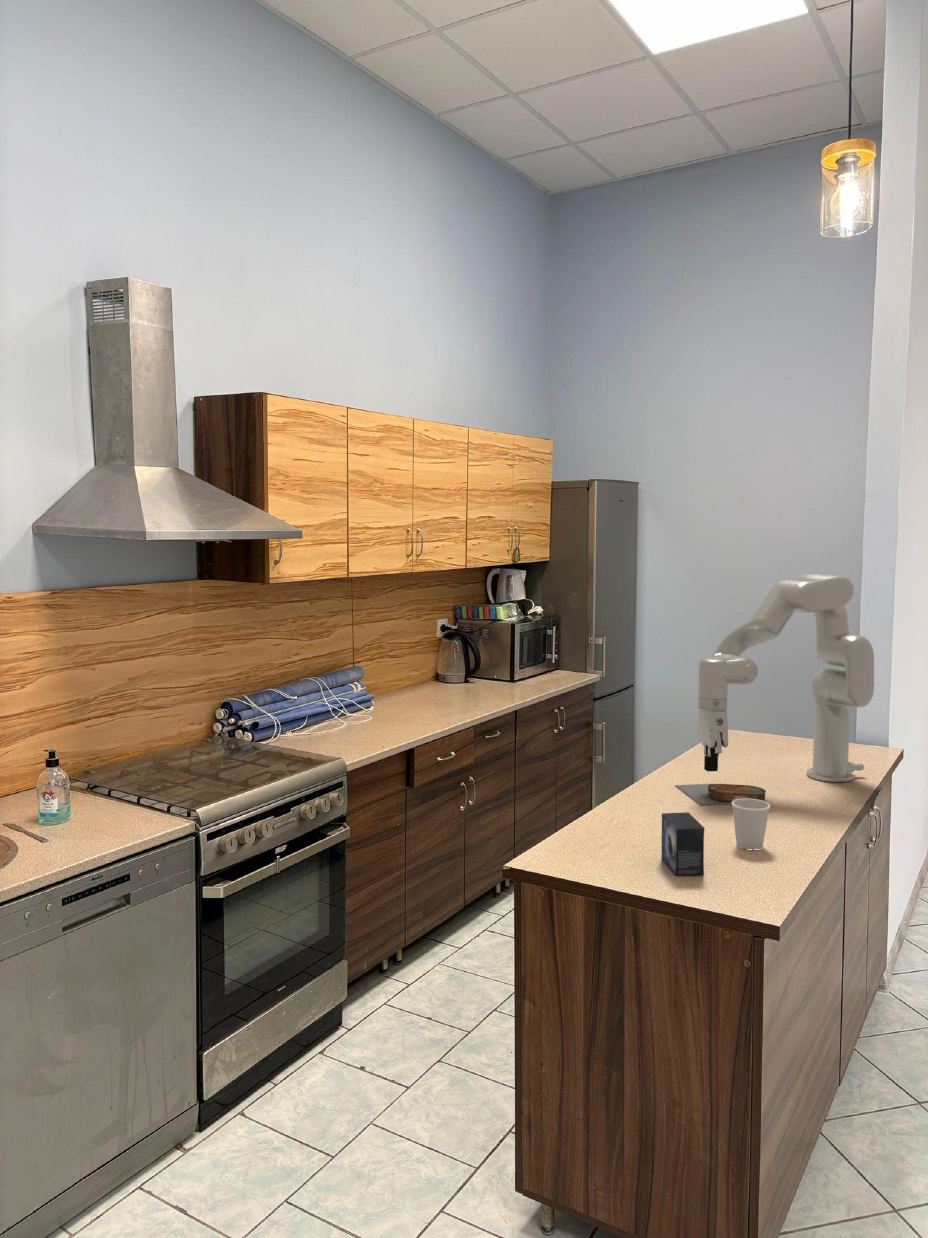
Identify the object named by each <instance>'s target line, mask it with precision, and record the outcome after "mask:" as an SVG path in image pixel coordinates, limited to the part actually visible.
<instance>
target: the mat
mask: <svg viewBox="0 0 928 1238" xmlns="http://www.w3.org/2000/svg"><path fill="white" fill-rule="evenodd" d="M711 784H712V783H695V784H676V785H674V786H675V787H676V788H677V789H678V790H679V791H681V792H682V793H684V794H685V795H686V796H687V797H689V799H691V800H692V801H694V802H695V803H696V804H698V805H699V806H714V805H715V806H717V805H732V802H728V801H720V800H715V799H713V798H711V797H710V796H709V795H708V786H709V785H711Z"/></svg>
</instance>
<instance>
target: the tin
mask: <svg viewBox="0 0 928 1238" xmlns="http://www.w3.org/2000/svg"><path fill="white" fill-rule="evenodd" d="M710 784H711V785H709V786H708V795H709V796H710V797H711V798H713V799H715V800H720V801H728V802H732V801H734V800H736V799H742V798H750V799H758V800H762V801H765V800H766V793H767V791H766V789H765V788H762V787H759V786H756V785H748V784H747V785H746V784H730V783H710Z"/></svg>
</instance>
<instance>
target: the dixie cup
mask: <svg viewBox="0 0 928 1238" xmlns="http://www.w3.org/2000/svg"><path fill="white" fill-rule="evenodd" d="M731 805H732V813H733V823H734V831H735V832H734V834H735V844H736V847H737V846H738V847H741V848H743V849H752V850H754V849H761V848H762V847H763V846H764V842H765V836H766V831H767V823H768V817H769V812H770V809H771V804H769V802H766V801H765V800H764V801H762V800H758V799H750V798H742V799H736V800H734V801H732V804H731ZM738 847H737V848H738ZM763 848H764V847H763ZM763 848H762V849H763ZM743 849H742V850H743ZM762 849H761V850H762Z"/></svg>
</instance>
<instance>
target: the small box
mask: <svg viewBox="0 0 928 1238" xmlns="http://www.w3.org/2000/svg"><path fill="white" fill-rule="evenodd" d="M704 847H705V827H704V826H703V825H702V824H701V823H700V822H699V821H698V820H697V819H696V818H695V817H694V816H693V815H692V814H691V813H690V812H688V811H686V812H685V811H684V812H683V811H682V812H670V813H669V812H667V813H666V812H665V813H664V812H663V813H661V857H660V858H661V860H662V861H663V863H664V864H665V865H666V866H667V867H668V869H669V870H670V871H671V872H672V874H673V873H674V874H673V875H674V877H676V876H682V877H700V875H701V877H702V875H704V876H705V869H704V868H705V867H704V864H705V863H704V862H705V860H704V859H705V857H704V856H705V854H704V853H705V849H704Z"/></svg>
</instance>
